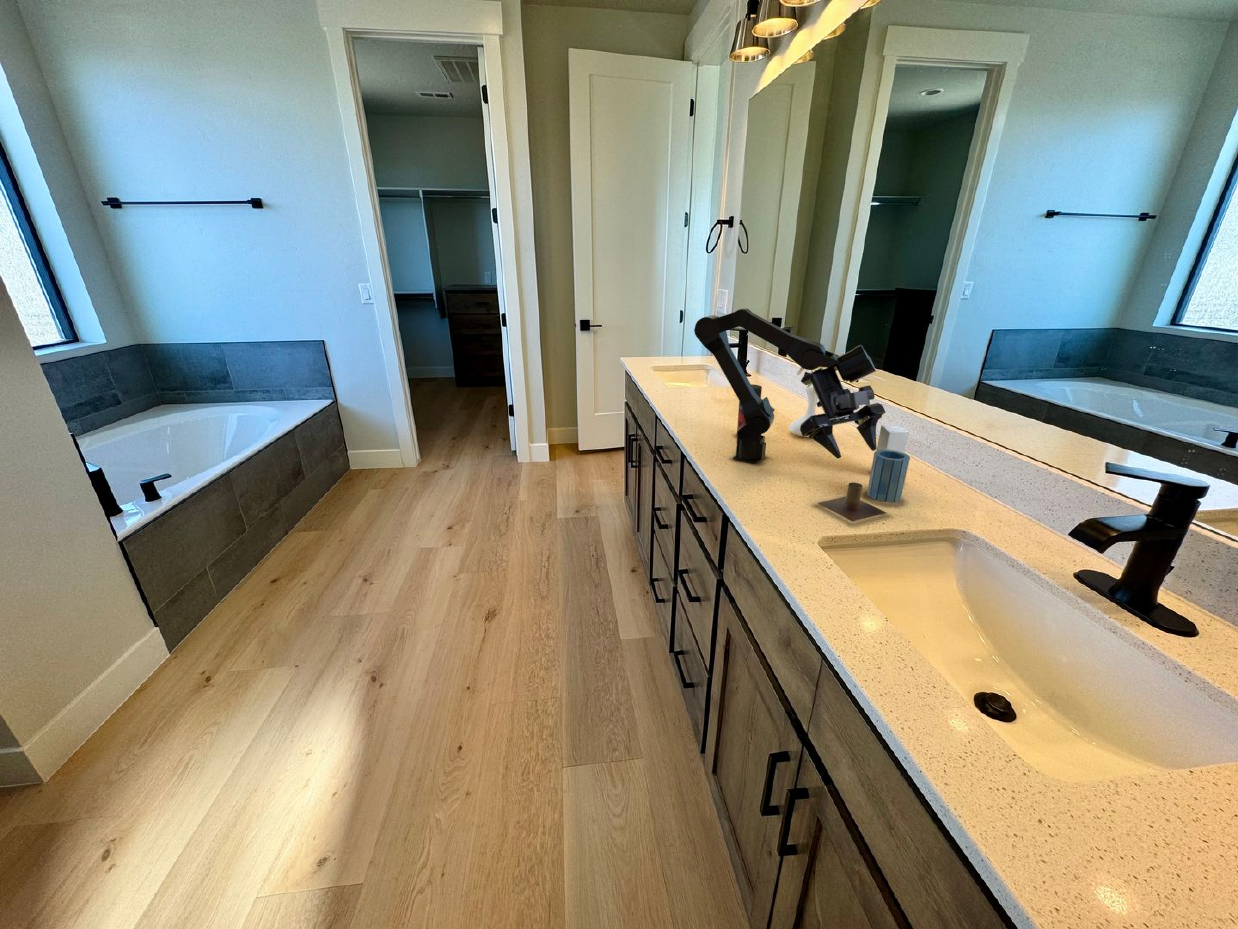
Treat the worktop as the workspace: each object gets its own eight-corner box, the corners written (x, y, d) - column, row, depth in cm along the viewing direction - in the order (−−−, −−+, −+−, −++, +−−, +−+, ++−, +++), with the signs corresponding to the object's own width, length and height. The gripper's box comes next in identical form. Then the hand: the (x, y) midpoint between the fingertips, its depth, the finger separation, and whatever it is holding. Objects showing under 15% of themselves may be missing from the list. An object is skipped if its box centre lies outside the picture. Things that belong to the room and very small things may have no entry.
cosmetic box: (899, 483, 112) (910, 432, 108) (879, 482, 113) (889, 432, 108) (890, 473, 118) (900, 425, 113) (871, 472, 118) (880, 424, 114)
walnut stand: (817, 506, 102) (820, 480, 99) (849, 498, 105) (854, 473, 103) (851, 525, 94) (856, 497, 92) (886, 516, 97) (891, 489, 95)
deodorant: (759, 439, 143) (764, 388, 137) (739, 439, 143) (742, 388, 137) (754, 433, 148) (758, 384, 143) (734, 433, 148) (738, 384, 143)
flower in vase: (799, 427, 154) (809, 345, 145) (835, 434, 146) (848, 349, 137) (777, 436, 145) (786, 350, 136) (814, 444, 138) (826, 354, 129)
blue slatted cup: (863, 500, 104) (871, 456, 100) (870, 490, 108) (878, 447, 105) (897, 508, 100) (906, 462, 97) (902, 497, 105) (912, 453, 101)
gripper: (813, 380, 104) (842, 448, 99) (886, 368, 108) (917, 431, 103) (788, 404, 114) (813, 466, 109) (856, 392, 118) (883, 451, 114)
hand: (857, 454), depth 109 cm, fingers open, 9 cm apart
